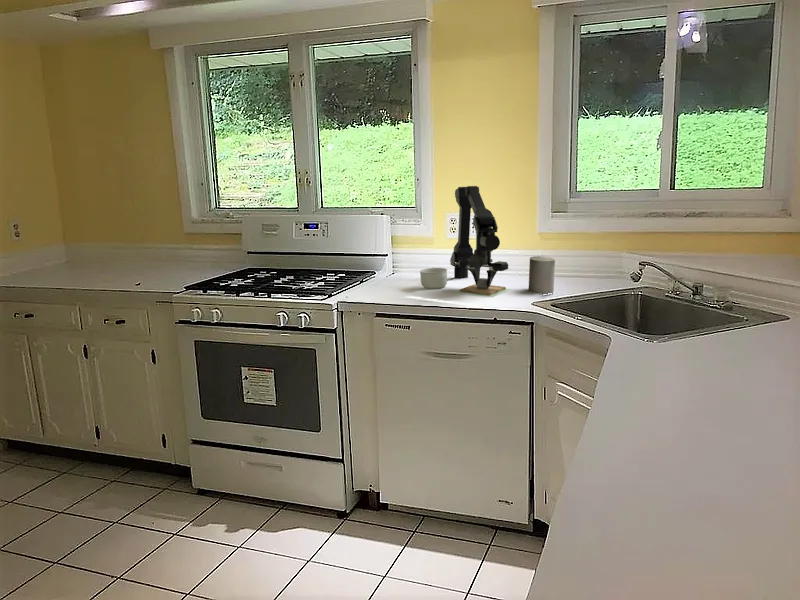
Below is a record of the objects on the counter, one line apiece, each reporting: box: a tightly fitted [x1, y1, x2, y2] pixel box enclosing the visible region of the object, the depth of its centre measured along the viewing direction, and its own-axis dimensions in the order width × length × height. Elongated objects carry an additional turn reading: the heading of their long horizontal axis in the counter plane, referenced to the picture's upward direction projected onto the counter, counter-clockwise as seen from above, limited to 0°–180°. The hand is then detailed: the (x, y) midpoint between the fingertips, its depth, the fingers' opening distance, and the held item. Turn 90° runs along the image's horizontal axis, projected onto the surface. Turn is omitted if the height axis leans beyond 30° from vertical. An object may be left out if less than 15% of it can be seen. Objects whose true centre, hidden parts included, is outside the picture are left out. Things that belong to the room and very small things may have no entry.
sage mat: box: [454, 287, 513, 298], centre depth 268 cm, size 17×17×1 cm
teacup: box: [419, 266, 448, 290], centre depth 277 cm, size 14×11×8 cm
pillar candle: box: [527, 254, 556, 294], centre depth 265 cm, size 10×10×15 cm
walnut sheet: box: [459, 277, 507, 295], centre depth 267 cm, size 13×13×4 cm
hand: (482, 286), depth 267 cm, fingers closed on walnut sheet, 4 cm apart
